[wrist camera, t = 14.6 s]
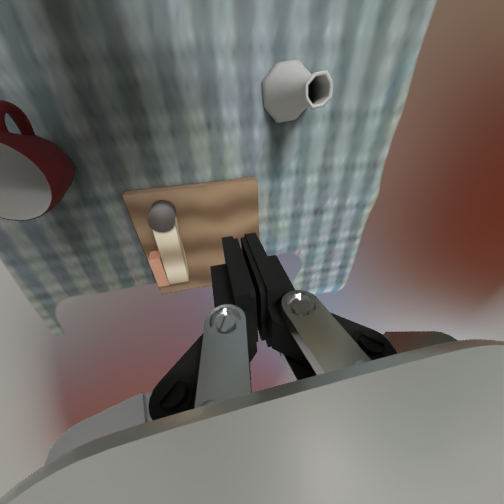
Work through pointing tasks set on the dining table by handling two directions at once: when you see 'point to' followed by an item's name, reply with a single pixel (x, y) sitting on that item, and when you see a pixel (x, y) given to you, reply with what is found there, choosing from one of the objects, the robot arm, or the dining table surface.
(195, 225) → the stool seat board
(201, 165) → the dining table surface
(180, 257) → the folding leg
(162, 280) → the leg stop
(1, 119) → the mug
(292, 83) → the flask
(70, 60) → the dining table surface
